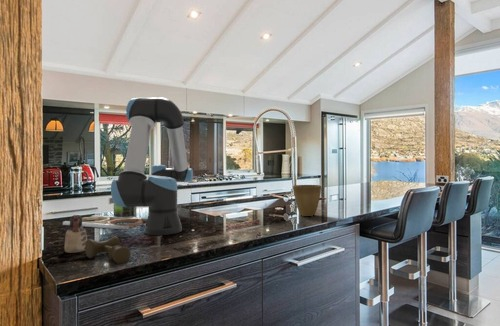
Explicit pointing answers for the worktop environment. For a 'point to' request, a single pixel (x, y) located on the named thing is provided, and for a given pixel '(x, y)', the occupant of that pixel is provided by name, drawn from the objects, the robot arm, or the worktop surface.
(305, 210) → the plant pot
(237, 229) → the worktop surface
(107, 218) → the flat rectangular tray
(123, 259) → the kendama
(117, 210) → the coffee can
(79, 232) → the figurine
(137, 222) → the marked ring
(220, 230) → the worktop surface
